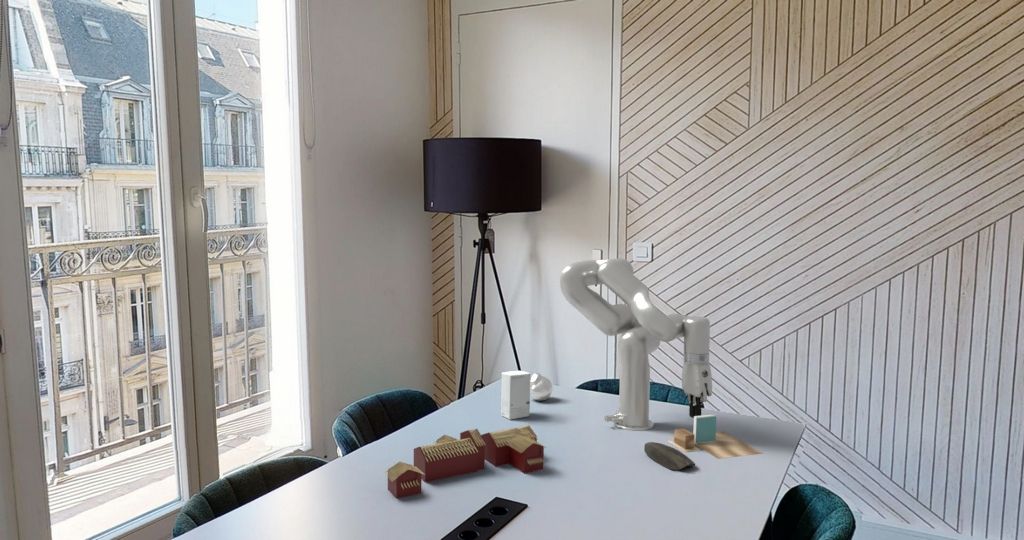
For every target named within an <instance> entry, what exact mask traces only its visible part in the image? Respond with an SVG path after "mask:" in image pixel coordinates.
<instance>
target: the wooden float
mask: <svg viewBox="0 0 1024 540" xmlns="http://www.w3.org/2000/svg"><path fill="white" fill-rule="evenodd" d="M673 433H674V435H673V439H670V440H668V442H669V443H671V444H672V445H674V446H675V447H677V448H678V449H680V450H681V451H683V452H685V453H692V452H693V453H694V452H700V451H702V449H701V448H699V447H698V446H697V447H696V445H694V437H695V435H694V434H693V432H691V431H689V430H687V429H685V428H676V429H675V428H674V432H673Z"/></svg>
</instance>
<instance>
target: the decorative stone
mask: <svg viewBox="0 0 1024 540" xmlns="http://www.w3.org/2000/svg"><path fill="white" fill-rule="evenodd" d="M643 449H644V452H645V454H646V455H647V456H648V458H650V459H652V461H654V462H656V463H657V464H659V465H660V466H662V467H664V468H666V469H668V470H671V471H680V470H682V469H684V468H686V467H694V466H696V463H695V462H694V461H693V460H692V459H691V458H690V457H688V456H687V455H686V454H684V453H683V452H682V451H680V450H679V449H676V448H674V447H672V446H669V445H667V444H663V443H661V442H660V443H659V442H653V441H648V442H646V443H645V444H644V448H643Z"/></svg>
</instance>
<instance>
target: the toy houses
mask: <svg viewBox="0 0 1024 540" xmlns="http://www.w3.org/2000/svg"><path fill="white" fill-rule="evenodd" d="M479 431H480V430H478V428H474V429H468V430H464V431H462V432H460V433H459V439H457V438H455V437H452V436H449V435H448V434H447V435H446V434H443V435H442V436H440V437H439V438H438V439H436V441H434V442H433V444H429V445H422V446H417V447H415V448H413V465H412V464H410V463H407V462H403V461H399V462H397V463H395V464H394V465H393V466H390V468H388V469H387V470H386V471H385V472H384V473H383V474H384V475H385V476H386V477H387V490H388V492H389V493H390V494H391V495H392V496H393V497H394V498H395V499H400V498H406V497H410V496H415V495H420V494H422V481H423V482H424V483H429V482H434V481H437V480H438V481H439V480H442V479H448V478H452V477H453V478H454V477H457V476H462V475H466V474H471V473H477V472H478V471H482V470H485V469H486V467H485V461H486V462H488V463H489V464H491V465H492V466H493V467H495V468H496V467H499V466H506V465H510V466H512V467H514V468H515V469H517V470H518V471H519V472H521V473H523V474H528V473H532V472H537V471H541V470H544V467H545V466H544V464H545V462H544V459H545V458H544V457H545V455H544V454H545V452H544V451H545V450H544V449H547V446H545V445H543V444H541V443H540V442H538V440H539V439H538V436H537V434H536V432H534V430H533V429H532V428H531V426H530V425H524V426H521V427H520V426H518V427H515V428H514V427H512V428H509V429H502V430H497V431H491V432H487V433H484V434H482V433H480V432H479Z"/></svg>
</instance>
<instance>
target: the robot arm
mask: <svg viewBox="0 0 1024 540" xmlns="http://www.w3.org/2000/svg"><path fill="white" fill-rule="evenodd" d="M632 265H633V264H632V263H630V261H629V260H627V259H625V258H620V257H619V258H617V257H616V258H608V259H605V258H604V259H590V260H582V261H576V262H572V263H570V264H567V265H566V266H565V267H564V268H563V270H562V271H561V273H560V278H559V285H560V286H559V287H560V291H561V292H562V295H563V297H564V298H565V300H566V301H567V302H568V303H569V304H570V305H571V306H572V307H573V308H574V309H576V310H577V311H578V312H579V313H581V315H583V316H584V317H585V318H586V319H587V320H588V321H589V322H590V323H591V324H592V325H594V326H595V328H597V329H598V330H599V331H600V332H601V333H602V334H604V335H605V336H609V337H613V336H617V335H620V338H619V340H618V343H617V351H618V359H619V392H618V393H619V394H618V395H619V397H618V399H619V400H618V402H619V403H618V410H616V411H615V413H613V415H612V414H609V415H606V414H605V416H604V421H605V422H606V423H607V422H611V423H612V424H613V425H614V428H618V429H621V430H625V431H632V432H641V431H648V430H651V429H653V428H654V426H655V425H654V422H653V421H652V420H650V389H651V388H650V387H651V367H650V359H649V355H650V354H651V353H653V352H655V351H656V350H658V349H659V347H660V344H661V342H662V343H663V342H664V343H665V342H666V343H669V342H672V341H674V340H677V339H680V338H683V365H682V374H681V388H682V390H683V391H684V394H685V395H686V396H687V398H688V399H687V400H688V403H689V404H688V405H689V407H688V408H689V409H688V411H689V414H688V415H689V417H690V418H692V419H694V416H702V405H703V404H704V402H706V403H707V402H708V397H711V396H712V395H713V381H712V380H713V378H712V377H713V376H712V370H711V364H710V345H711V343H710V342H711V341H710V337H711V332H710V331H711V323H710V322H711V321H710V319H708V318H707V317H704V316H695V315H694V316H689V315H685V314H681V313H670V314H669V315H667V314H664V313H663V312H662V311H661V310H660V309H658V307H656V305H654V303H653V302H652V300H651V298H650V293H649V292H650V291H649V287H648V285H646V284H645V283H643V281H642V280H640V279H639V278H638V277H637V276H635V275H634V267H633V266H632ZM597 285H604V286H605V287H607V288H608V289H609V290H610V291H611V292H612V293H613V294H614V295H615V296H617V297H618V298H619V299H620V300H621V301H622V302H623V303H625V304H623V303H616V304H612V303H610V302H609V301H607V300H606V299H605V298H604V297H603V296H601V295H600V294H599V293H598V292H596V291H595V290H592V289H591V288H590V286H597Z"/></svg>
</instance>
